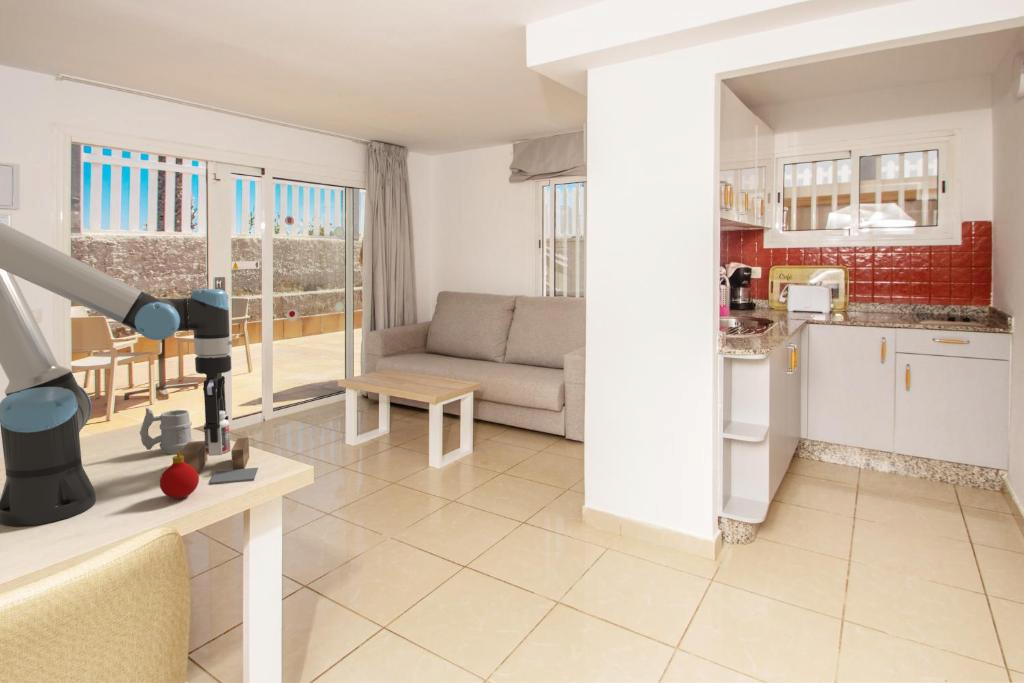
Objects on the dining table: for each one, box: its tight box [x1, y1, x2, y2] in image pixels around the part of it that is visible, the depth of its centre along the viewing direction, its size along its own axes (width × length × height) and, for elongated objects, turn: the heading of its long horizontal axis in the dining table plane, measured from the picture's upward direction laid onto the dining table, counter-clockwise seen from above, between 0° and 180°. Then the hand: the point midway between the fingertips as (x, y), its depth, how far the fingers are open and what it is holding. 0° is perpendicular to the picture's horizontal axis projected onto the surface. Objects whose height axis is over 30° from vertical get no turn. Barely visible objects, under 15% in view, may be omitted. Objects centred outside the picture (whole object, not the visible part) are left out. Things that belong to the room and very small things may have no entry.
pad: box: [209, 467, 259, 485], centre depth 135 cm, size 9×8×1 cm
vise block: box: [179, 437, 250, 475], centre depth 142 cm, size 14×10×5 cm
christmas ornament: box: [159, 451, 200, 499], centre depth 123 cm, size 7×7×10 cm
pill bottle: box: [203, 411, 231, 456], centre depth 142 cm, size 5×5×10 cm
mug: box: [139, 407, 195, 455], centre depth 152 cm, size 8×12×12 cm, turn 125°
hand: (217, 450), depth 142 cm, fingers closed on pill bottle, 5 cm apart
